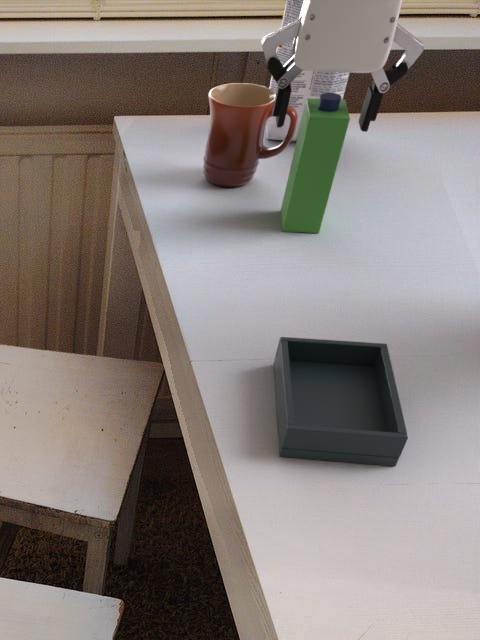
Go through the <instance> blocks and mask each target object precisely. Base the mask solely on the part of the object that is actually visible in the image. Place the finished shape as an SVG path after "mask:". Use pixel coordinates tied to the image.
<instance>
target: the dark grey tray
mask: <svg viewBox="0 0 480 640" xmlns="http://www.w3.org/2000/svg"><path fill="white" fill-rule="evenodd" d="M272 363H273V364H272V367H273V381H274V397H275V398H274V399H275V410H276V411H275V412H276V425H277V426H276V427H277V428H276V429H277V441H278V442H277V443H278V455H279V457H280V458H293V459H304V460H314V461H315V460H317V461H330V462H339V463H351V464H352V463H354V464H364V465H374V466H375V465H378V466H389V467H396V466H397V464H398V462H399V460H400V457H401V455H402V453H403V451H404V448H405V446H406V444H407V441H408V439H409V436H408V432H407V431H408V430H407V427H406V423H405V418H404V414H403V409H402V404H401V400H400V395H399V391H398V387H397V383H396V378H395V373H394V369H393V365H392V362H391V357H390V353H389V348H388V344H387V343H381V342H366V341H353V340H351V341H350V340H337V339H336V340H335V339H320V338H305V337H304V338H303V337H291V336H290V337H289V336H280V337H279V341H278V344H277V348H276V352H275V357H274V360H273V362H272Z"/></svg>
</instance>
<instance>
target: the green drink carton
mask: <svg viewBox="0 0 480 640" xmlns="http://www.w3.org/2000/svg"><path fill="white" fill-rule="evenodd" d="M350 120H351V117H350V113H349V109H348V105H347V101H346V99H342V100H341V96H340V95H338V94H335V93H324V94H321V95H320V98H319V99H306V103H305V107H304V111H303V116H302V120H301V124H300V129H299V133H298V138H297V141H295V147H294V151H293V155H292V160H291V164H290V168H289V172H288V178H287V181H286V186H285V190H284V194H283V198H282V203H281V206H280V207H281V208H280V218H281V226H282V229H281V230H282V232H284V233H285V232H287V233H288V232H289V233H306V234H307V233H310V234H320V231H321V228H322V223H323V221H324V216H325V212H326V209H327V205H328V201H329V198H330V194H331V190H332V187H333V184H334V179H335V175H336V172H337V168H338V164H339V161H340V157H341V155H342V154H341V153H342V150H343V146H344V142H345V139H346V136H347V132H348V128H349V124H350Z"/></svg>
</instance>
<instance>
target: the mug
mask: <svg viewBox="0 0 480 640" xmlns="http://www.w3.org/2000/svg"><path fill="white" fill-rule="evenodd" d="M275 96H276V93H275V92H274V91H273V90H271V89H269V87H267V86H264V85H260V84H255V83H247V82H237V83H236V82H231V83H225V84H221V85H217V86H215V87H213V88H211V89H210V90H209V92H208V104H209V127H208V131H207V132H208V133H207V137H206V144H205V149H204V156H203V158H202V159H203V164H202V168H203V177H205V179H206V180H207V181H208V182H210V183H211V184H213V185H216V186H219V187H224V188H225V187H226V188H234V187H235V188H236V187H241V186H244V185H246V184H248V183H250V182H251V181H252V180H253V179H254V177H255V174H256V172H257V170H258V166H259V164H260V160H265V159H270V158H273V157H275V156H278V155H280V154H281V153H282V152H284V151H285V150H286V149H287V147H288V146H289V145H290V143H291V142H292V141H291V140H292V138H293V136H294V133H295V130H296V127H297V122H298V115H297V112H296V110H295V109H294V108H293V107H291V106H289V105H288V108H287V113H286V114H287V115H288V116H289V117H290V126H289V129H288V132H287V135H286V137H285V139H284V140H282V142H280V143H279V144H278V145H276V146H272V147H268V146H265V145H264V135H265V131H266V122H267V120H268V118H270V117H272V110H273V105H274V100H275Z"/></svg>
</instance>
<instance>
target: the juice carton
mask: <svg viewBox="0 0 480 640" xmlns="http://www.w3.org/2000/svg"><path fill="white" fill-rule="evenodd" d="M303 2H304V0H286V2H285V6H284V12H283V16H282V21H281V27H280V28H282V27H284V26H286V25H288V24H290V23H292V22H294V21H296V20H298V19H299V17H300V13H301V9H302V6H303ZM293 41H294V38H293V39H291V40H289V41H287V42H285V43H283V44H281V45H279V46H278V47H277V49H276V53H277V57H278V59H279V60H280V62H281V63H282V65H283V66H284V65H285V64H286V63H287V62H288V61H289V60H290V59H291V58H292V57H293V56H294V54H292V47H293ZM349 77H350V73H347V72H322V71H307V70H303V71H302V72H301V73H300V74H299V75H298V76H297V77H296V78H295V79H294V80H293V81H292V82H291V95H290V100H289V104H288V105H289V106H291V107H293V108H294V109H295V110H296V112H297V115H298V122H297V127H296V130H295V133H294V136H293V138H292V140H291V141H290V142H297V138H298V133H299V129H300V124H301V120H302V116H303V111H304V107H305V103H306V99H319V98H320V95H321V94H324V93H335V94H338V95H340V96H341V100H344V96H345V92H346V88H347V85H348V84H347V83H348V80H349ZM277 87H278V84H277V82H276V81H275V79H274V78H273V76H272V75H271V78H270V83H269V87H268V88H269V89H271V90H273V91H274V92H275V93H276V91H277ZM289 126H290V117H289V116H288V115H287V114H286V117H285V121H284V126H282V127H281V128H279V127H277V125H276V117H273V116H272V117H270V118H268V120H267V122H266V126H265V134H266V139H267V140H273V141H284V139H285V137H286V135H287V132H288V129H289Z"/></svg>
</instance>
